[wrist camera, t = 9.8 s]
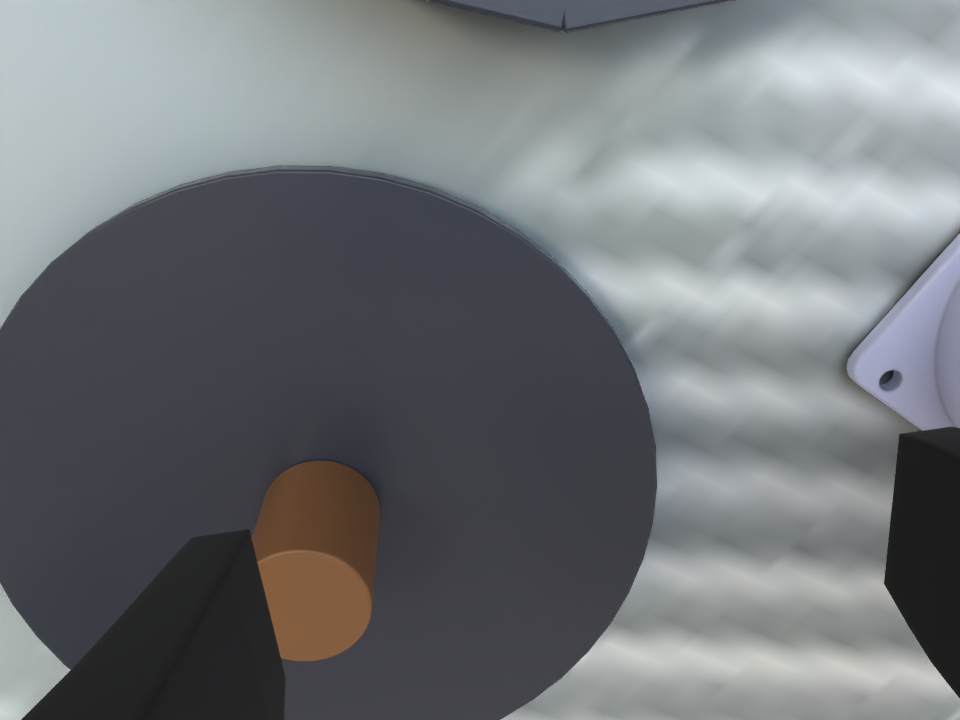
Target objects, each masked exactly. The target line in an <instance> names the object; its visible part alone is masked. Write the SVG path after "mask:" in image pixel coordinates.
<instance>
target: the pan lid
mask: <svg viewBox="0 0 960 720" xmlns="http://www.w3.org/2000/svg"><path fill="white" fill-rule="evenodd" d="M656 490H657V470H656V446H655V441H654V436H653V430H652V425H651V420H650V415H649V409H648V406H647V403H646V400H645V397H644V395H643V392H642V389H641V386H640V383H639V380H638V378H637V375H636V372H635V369H634V367H633V366H632V364H631V362H630V360H629V358H628V356H627V354H626V352H625V350H624V348H623V347H622V345H621V343H620V341H619V339H618V337H617V335H616V333H615V331H614V330H613V328H612V326H611V325H610V323H609V322H608V321H607V319H606V318H605V317H604V315H603V314H602V312H601V311H600V310H599V308H598V307H597V306H596V304H595V303H594V301H593V300H592V299H591V297H590V296H589V295H588V293H587V292H586V291H585V290H584V289H583V288H582V287H581V286H580V285H579V283H578V282H577V281H576V280H575V279H574V278H573V277H572V276H571V275H570V274H569V273H568V272H567V271H566V270H565V269H564V268H563V267H562V266H561V265H560V264H559V263H558V262H557V261H556V260H555V259H554V258H553V257H552V256H550V255H549V254H548V253H546V252H545V251H544V250H543V249H541V248H540V247H539V246H537V245H536V244H535V243H534V242H532V241H531V240H530V239H529V238H527V237H526V236H525V235H523V234H522V233H521V232H520V231H518V230H517V229H515V228H513V227H512V226H510V225H508V224H506V223H505V222H503V221H501V220H500V219H498V218H496V217H494V216H493V215H491V214H489V213H488V212H486V211H484V210H482V209H481V208H479V207H477V206H475V205H473V204H471V203H468V202H466V201H463V200H461V199H459V198H456V197H454V196H452V195H449V194H447V193H444V192H442V191H440V190H437V189H435V188H433V187H430V186H426V185H423V184H419V183H415V182H412V181H408V180H404V179H401V178H397V177H394V176H390V175H386V174H383V173H376V172H369V171H362V170H355V169H348V168H340V167H333V166H274V167H266V168H257V169H249V170H241V171H233V172H227V173H223V174H220V175H216V176H212V177H208V178H204V179H201V180H197V181H193V182H189V183H185V184H181V185H179V186H176V187H174V188H172V189H169V190H167V191H164V192H162V193H160V194H157V195H155V196H152V197H150V198H148V199H145V200H143V201H140V202H138V203H136V204H134V205H132V206H130V207H129V208H127V209H125V210H124V211H122V212H120V213H119V214H117V215H115V216H114V217H112V218H110V219H109V220H107V221H105V222H104V223H102V224H100V225H99V226H97V227H95V228H94V229H92V230H91V231H89V232H88V233H87V234H86V235H84V236H83V237H82V238H81V239H79V240H78V241H77V242H76V243H75V244H73V245H72V246H71V247H70V248H69V249H67V250H66V251H65V252H64V253H62V254H61V255H60V256H59V257H58V258H56V259H55V260H54V261H53V262H51V263H50V265H49V266H48V267H47V268H46V269H45V270H44V271H43V272H42V273H41V275H40V276H39V277H38V278H37V279H36V280H35V281H34V282H33V284H32V285H31V286H30V287H29V288H28V289H27V290H26V291H25V293H24V294H23V295H22V296H21V297H20V299H19V300H18V302H17V303H16V305H15V306H14V308H13V309H12V311H11V313H10V314H9V316H8V317H7V319H6V320H5V322H4V324H3V325H2V327H1V328H0V583H1V585H2V587H3V588H4V590H5V592H6V594H7V595H8V597H9V599H10V601H11V602H12V604H13V606H14V607H15V608H16V610H17V611H18V612H19V614H20V615H21V616H22V618H23V619H24V620H25V622H26V623H27V624H28V625H29V627H30V628H31V629H32V631H33V632H34V633H35V635H36V636H37V637H38V638H39V639H40V640H41V641H42V642H43V643H44V644H45V645H46V646H47V647H48V648H49V649H50V650H51V651H52V653H53V654H54V655H55V656H56V657H57V658H58V659H59V660H60V661H61V662H62V663H63V664H64V665H65V666H67V667H68V668H69V669H70V670H72V668H73V667H74V666H75V665H76V664H77V663H78V662H79V661H80V660H81V659H82V658H83V657H84V656H85V654H86V653H87V652H88V651H89V650H90V649H91V648H92V647H93V646H94V645H95V644H96V642H97V641H98V640H99V639H100V638H101V637H102V636H103V635H104V634H105V633H106V632H107V630H108V629H109V628H110V627H111V626H112V625H113V624H114V623H115V622H116V621H117V620H118V618H119V617H120V616H121V615H122V614H123V613H124V612H125V611H126V610H127V609H128V607H129V606H130V605H131V604H132V603H133V602H134V601H135V600H136V598H137V597H138V596H139V595H140V594H141V593H142V592H143V591H144V589H145V588H146V587H147V586H148V585H149V584H150V583H151V581H152V580H153V579H154V578H155V577H156V576H157V575H158V574H159V572H160V571H161V570H162V569H163V568H164V567H165V566H166V565H167V563H168V562H169V561H170V560H171V559H172V558H173V557H174V556H175V555H176V553H177V552H178V551H179V550H180V549H181V548H182V547H183V546H184V545H185V544H186V543H187V542H188V541H189V540H190V539H191V538H192V537H198V536H205V535H212V534H219V533H226V532H232V531H239V530H246V529H249V530H250V534H251V538H252V542H253V546H254V550H255V554H256V559H257V563H258V567H259V571H260V575H261V579H262V583H263V587H264V591H265V595H266V599H267V603H268V607H269V611H270V615H271V620H272V624H273V628H274V632H275V636H276V640H277V644H278V648H279V652H280V656H281V660H282V664H283V668H284V672H285V677H286V684H285V710H284V720H500V719H502V718H504V717H505V716H507V715H509V714H510V713H512V712H514V711H515V710H517V709H519V708H520V707H522V706H524V705H525V704H527V703H529V702H530V701H532V700H533V699H535V698H536V697H537V696H539V695H540V694H541V693H543V692H544V691H545V690H546V689H548V688H549V687H550V686H552V685H553V684H554V683H555V682H557V681H558V680H559V679H561V678H562V677H563V676H564V675H565V674H566V673H567V672H568V671H569V670H570V669H571V668H572V667H573V666H574V665H575V664H576V663H577V662H578V661H579V660H580V659H581V658H582V657H583V656H584V655H585V654H586V653H587V652H588V651H589V650H590V649H591V647H592V646H593V645H594V644H595V642H596V641H597V640H598V639H599V637H600V636H601V635H602V634H603V632H604V631H605V630H606V628H607V627H608V626H609V625H610V623H611V622H612V620H613V618H614V617H615V615H616V613H617V612H618V610H619V608H620V607H621V605H622V603H623V602H624V600H625V598H626V597H627V595H628V593H629V591H630V589H631V586H632V584H633V582H634V579H635V577H636V575H637V572H638V570H639V568H640V565H641V563H642V561H643V558H644V554H645V550H646V547H647V543H648V539H649V535H650V531H651V528H652V524H653V517H654V508H655V499H656Z"/></svg>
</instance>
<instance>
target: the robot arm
mask: <svg viewBox="0 0 960 720" xmlns="http://www.w3.org/2000/svg"><path fill="white" fill-rule="evenodd" d="M846 368H847V372H848V375H849V376H850V377H851V379H852V380H853V381H854V382H855V383H857V384H858V385H859V386H860V387H862V388H863V389H864V390H866V391H867V392H869V393H870V394H871V395H873V396H874V397H876V398H877V399H878V400H880V401H881V402H883V403H884V404H885V405H887V406H888V407H890V408H891V409H892V410H894V411H895V412H897V413H898V414H899V415H901V416H902V417H904V418H905V419H906V420H908V421H909V422H911V423H912V424H913V425H915V426H916V427H918V428H919V429H920V430H922V431H917V432H910V433H904V434H900V435H899V445H898V454H897V464H896V474H895V483H894V493H893V503H892V513H891V522H890V532H889V542H888V551H887V561H886V571H885V581H884V584H885V586H886V588H887V590H888V591H889V593H890V595H891V596H892V598H893V600H894V602H895V603H896V605H897V607H898V609H899V610H900V612H901V614H902V615H903V617H904V619H905V621H906V622H907V624H908V626H909V627H910V629H911V631H912V632H913V634H914V635H915V637H916V639H917V640H918V642H919V643H920V645H921V646H922V648H923V650H924V651H925V653H926V654H927V656H928V658H929V659H930V661H931V662H932V663H933V665H934V666H935V667H936V669H937V670H938V671H939V673H940V674H941V675H942V676H943V678H944V679H945V680H946V682H947V683H948V684H949V685H950V687H951V688H952V689H953V690H954V692H955V693H956V694H957V696H958V697H959V698H960V233H959V234H958V235H957V237H956V238H955V239H954V240H953V241H952V242H951V243H950V244H949V246H948V247H947V248H946V249H945V250H944V251H943V252H942V253H941V254H940V256H939V257H938V258H937V259H936V260H935V261H934V262H933V263H932V264H931V266H930V267H929V268H928V269H927V270H926V271H925V272H924V273H923V274H922V276H921V277H920V278H919V279H918V280H917V281H916V282H915V283H914V284H913V286H912V287H911V288H910V289H909V290H908V291H907V292H906V293H905V295H904V296H903V297H902V298H901V299H900V300H899V301H898V302H897V303H896V305H895V306H894V307H893V308H892V309H891V310H890V311H889V312H888V313H887V315H886V316H885V317H884V318H883V319H882V320H881V321H880V322H879V323H878V325H877V326H876V327H875V328H874V329H873V330H872V331H871V332H870V333H869V335H868V336H867V337H866V338H865V339H864V340H863V341H862V342H861V344H860V345H859V346H858V347H857V348H856V349H855V350H854V351H853V352H852V354H851V356H850V357H849V359H848V362H847V367H846ZM890 370H894V374H893V376H892V378H891V380H889V381H888V382H886V383H884V384H879V380H880V378H881V377H882V375H883V374H884V373H886V372H887V371H890ZM285 684H286V677H285V672H284V668H283V664H282V660H281V656H280V652H279V648H278V644H277V640H276V636H275V632H274V628H273V624H272V620H271V615H270V611H269V607H268V603H267V599H266V595H265V591H264V587H263V583H262V579H261V575H260V571H259V567H258V563H257V559H256V554H255V550H254V546H253V542H252V538H251V534H250V530H249V529H246V530H239V531H232V532H226V533H219V534H212V535H205V536H198V537H192V538H191V539H190V540H189V541H188V542H187V543H186V544H185V545H184V546H183V547H182V548H181V549H180V550H179V551H178V552H177V553H176V555H175V556H174V557H173V558H172V559H171V560H170V561H169V562H168V563H167V565H166V566H165V567H164V568H163V569H162V570H161V571H160V572H159V574H158V575H157V576H156V577H155V578H154V579H153V580H152V581H151V583H150V584H149V585H148V586H147V587H146V588H145V589H144V591H143V592H142V593H141V594H140V595H139V596H138V597H137V598H136V600H135V601H134V602H133V603H132V604H131V605H130V606H129V607H128V609H127V610H126V611H125V612H124V613H123V614H122V615H121V616H120V617H119V618H118V620H117V621H116V622H115V623H114V624H113V625H112V626H111V627H110V628H109V629H108V630H107V632H106V633H105V634H104V635H103V636H102V637H101V638H100V639H99V640H98V641H97V642H96V644H95V645H94V646H93V647H92V648H91V649H90V650H89V651H88V652H87V653H86V654H85V656H84V657H83V658H82V659H81V660H80V661H79V662H78V663H77V664H76V665H75V666H74V667H73V668H72V670H71V671H70V672H69V673H68V674H67V675H66V676H65V677H64V678H63V679H62V680H61V681H60V682H59V683H58V684H57V685H56V686H55V687H54V688H53V689H52V690H51V691H50V692H49V693H48V694H47V695H46V696H45V697H44V698H43V699H42V700H41V701H40V702H39V703H38V704H37V705H36V706H35V707H34V708H33V709H32V710H31V711H30V712H29V713H28V714H27V715H26V716H25V717H24V718H23V719H22V720H284V710H285Z"/></svg>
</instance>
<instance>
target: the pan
mask: <svg viewBox="0 0 960 720" xmlns="http://www.w3.org/2000/svg"><path fill="white" fill-rule="evenodd" d="M424 1H428V2H433V3H437V4H441V5H445V6H450V7H454V8H458V9H462V10H467V11H471V12H475V13H479V14H484V15H488V16H492V17H496V18H501V19H505V20H509V21H513V22H518V23H522V24H526V25H530V26H535V27H539V28H543V29H547V30H551V31H556V32H560V31H563V32H567V33H568V32H573V31H578V30H583V29H588V28H594V27H599V26H604V25H609V24H614V23H620V22H625V21H630V20H635V19H640V18H646V17H651V16H656V15H661V14H666V13H672V12H677V11H682V10H687V9H692V8H698V7H703V6H708V5H713V4H719V3H724V2H729V1H734V0H424Z"/></svg>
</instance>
